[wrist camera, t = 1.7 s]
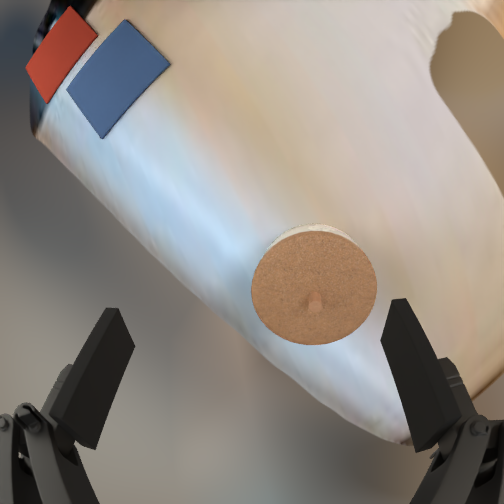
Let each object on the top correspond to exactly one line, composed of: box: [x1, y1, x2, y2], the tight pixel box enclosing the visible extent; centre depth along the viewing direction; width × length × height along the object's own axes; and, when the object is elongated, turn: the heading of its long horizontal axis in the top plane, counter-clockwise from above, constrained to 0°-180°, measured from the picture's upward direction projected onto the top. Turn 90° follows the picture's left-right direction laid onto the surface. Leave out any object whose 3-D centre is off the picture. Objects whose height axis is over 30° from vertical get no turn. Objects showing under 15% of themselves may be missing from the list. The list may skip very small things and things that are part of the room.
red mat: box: [26, 6, 98, 104], centre depth 30 cm, size 12×14×1 cm
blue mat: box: [66, 19, 171, 139], centre depth 31 cm, size 12×14×1 cm
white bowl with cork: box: [251, 224, 377, 345], centre depth 31 cm, size 13×13×11 cm
